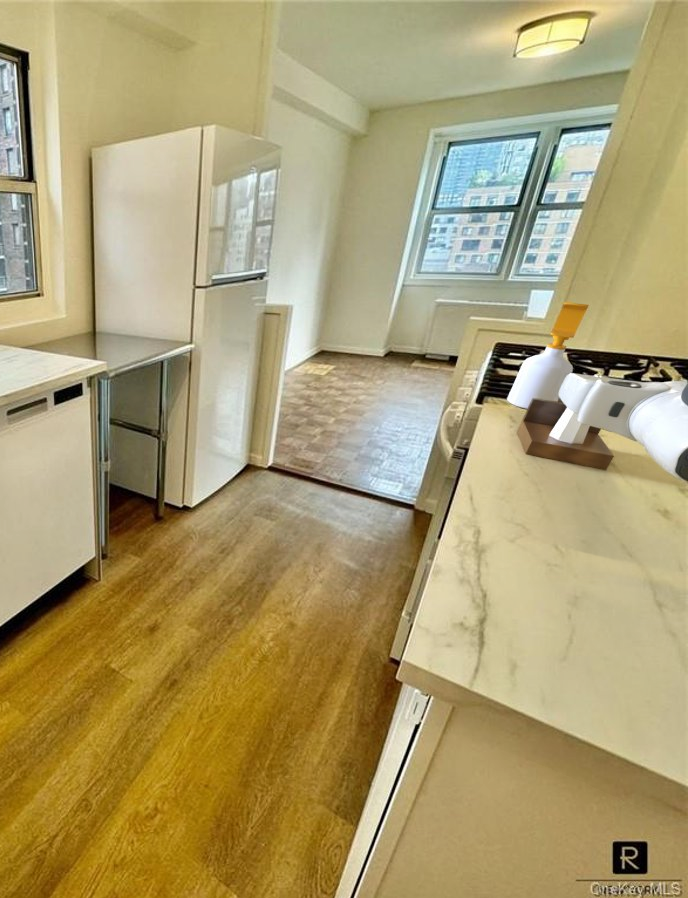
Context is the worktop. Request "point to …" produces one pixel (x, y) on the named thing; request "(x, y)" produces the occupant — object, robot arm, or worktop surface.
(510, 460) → the worktop surface
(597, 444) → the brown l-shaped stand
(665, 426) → the robot arm
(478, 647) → the worktop surface
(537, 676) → the worktop surface
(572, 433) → the pepper shaker
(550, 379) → the soap bottle
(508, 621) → the worktop surface
